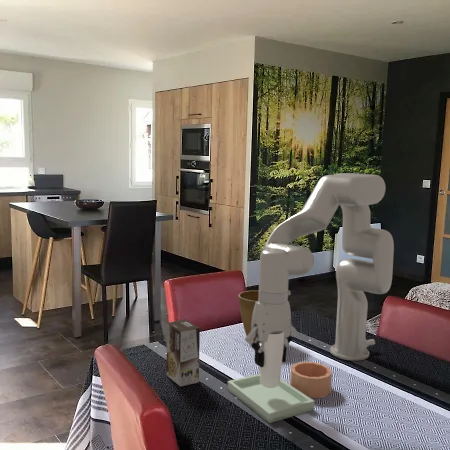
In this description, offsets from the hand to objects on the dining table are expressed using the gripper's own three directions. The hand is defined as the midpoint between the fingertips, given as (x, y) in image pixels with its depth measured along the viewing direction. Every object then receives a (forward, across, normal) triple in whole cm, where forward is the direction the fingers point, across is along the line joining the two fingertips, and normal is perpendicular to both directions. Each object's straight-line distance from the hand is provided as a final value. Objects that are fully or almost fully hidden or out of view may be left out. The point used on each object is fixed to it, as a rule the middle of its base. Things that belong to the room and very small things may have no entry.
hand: (270, 362), depth 136 cm
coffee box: (+11, +15, -22) cm, 29 cm away
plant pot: (+11, -22, -38) cm, 45 cm away
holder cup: (+10, -14, 0) cm, 17 cm away
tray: (+10, 0, 0) cm, 10 cm away
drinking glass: (+6, 0, 0) cm, 6 cm away
